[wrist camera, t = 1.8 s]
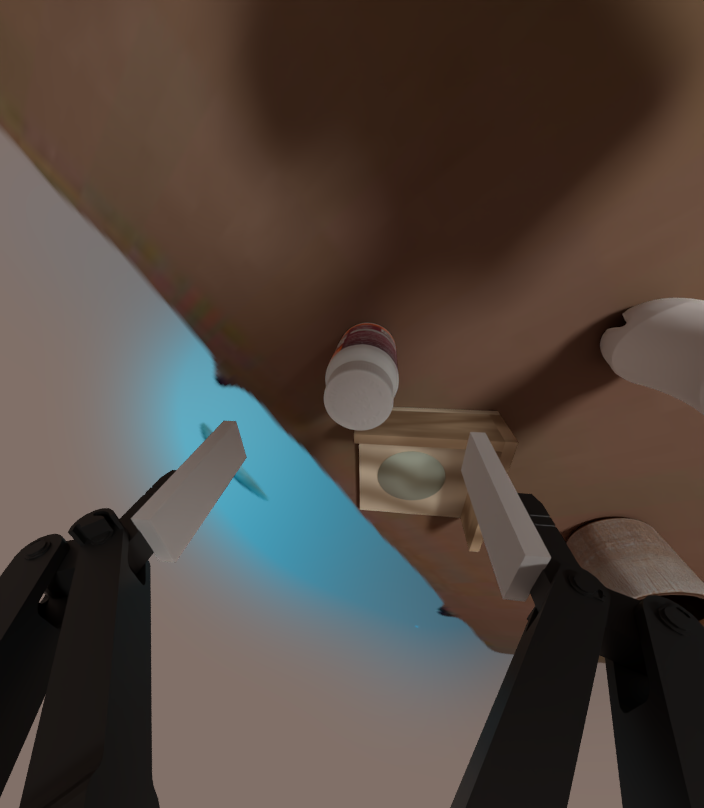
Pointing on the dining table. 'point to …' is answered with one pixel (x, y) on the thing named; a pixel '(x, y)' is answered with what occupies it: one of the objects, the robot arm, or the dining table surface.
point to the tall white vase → (661, 348)
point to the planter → (636, 562)
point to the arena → (427, 462)
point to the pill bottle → (362, 378)
